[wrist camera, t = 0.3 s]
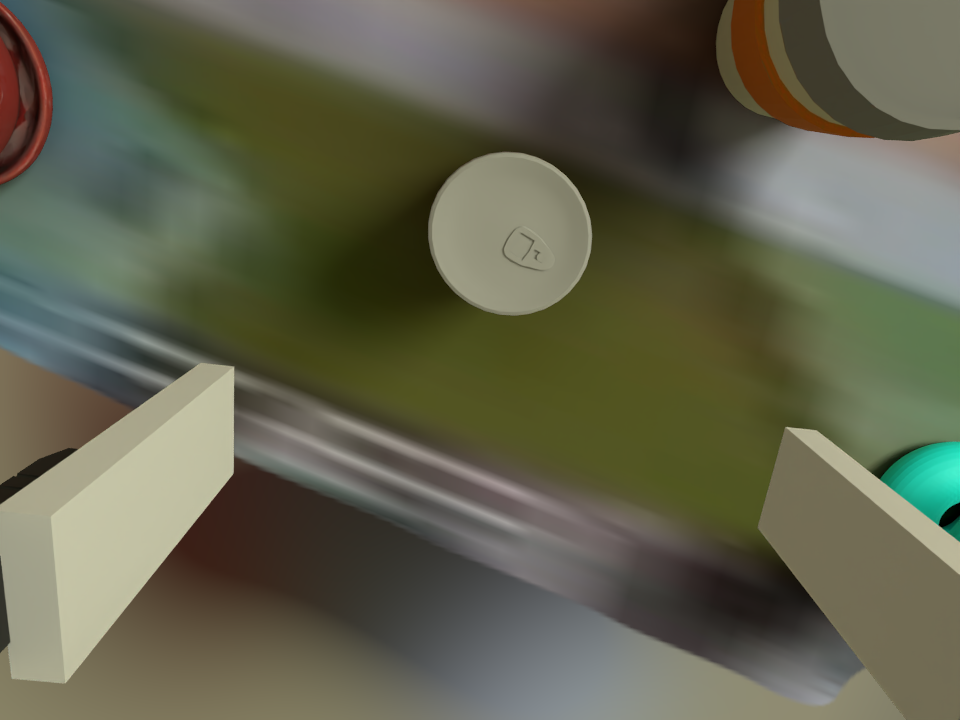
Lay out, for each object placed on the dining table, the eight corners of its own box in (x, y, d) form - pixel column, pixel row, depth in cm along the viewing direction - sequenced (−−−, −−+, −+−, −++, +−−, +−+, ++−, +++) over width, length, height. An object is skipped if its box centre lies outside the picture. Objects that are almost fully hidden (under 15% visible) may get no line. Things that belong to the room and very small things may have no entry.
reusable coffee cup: (804, -140, 35) (1030, -353, 21) (942, 28, 38) (1230, -59, 23) (641, 47, 38) (740, -29, 23) (779, 192, 40) (947, 205, 26)
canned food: (543, 293, 42) (565, 335, 32) (426, 260, 41) (408, 291, 31) (580, 177, 40) (617, 179, 29) (457, 140, 39) (449, 129, 29)
